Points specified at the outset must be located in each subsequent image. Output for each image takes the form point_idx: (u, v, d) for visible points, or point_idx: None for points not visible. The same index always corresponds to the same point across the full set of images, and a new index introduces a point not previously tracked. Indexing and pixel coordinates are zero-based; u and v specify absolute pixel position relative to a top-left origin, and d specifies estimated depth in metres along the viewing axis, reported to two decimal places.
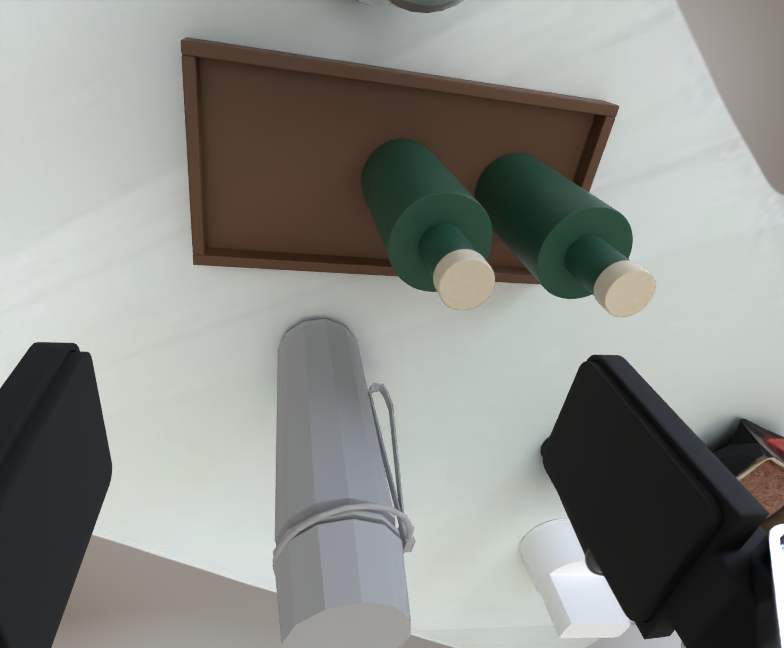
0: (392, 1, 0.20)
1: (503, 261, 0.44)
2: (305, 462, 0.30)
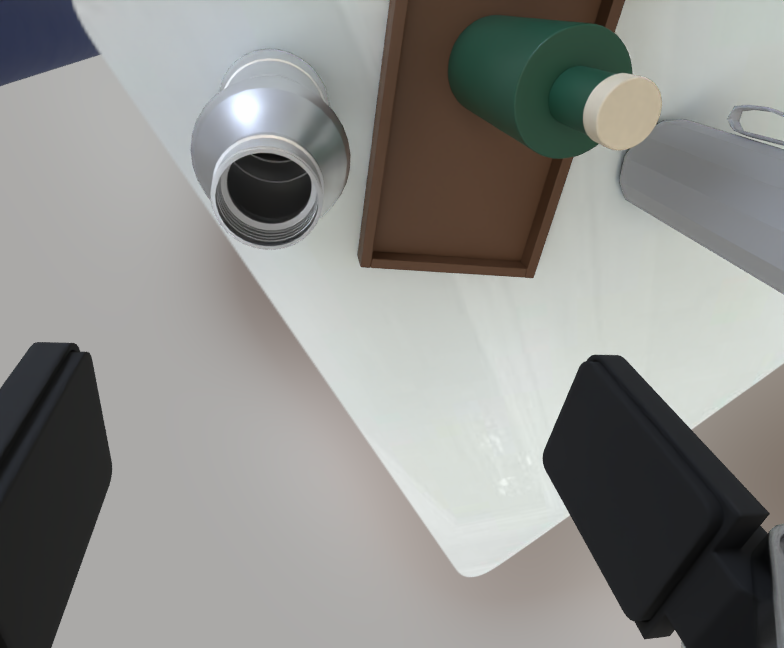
0: (343, 188, 0.23)
1: None
2: (774, 272, 0.28)
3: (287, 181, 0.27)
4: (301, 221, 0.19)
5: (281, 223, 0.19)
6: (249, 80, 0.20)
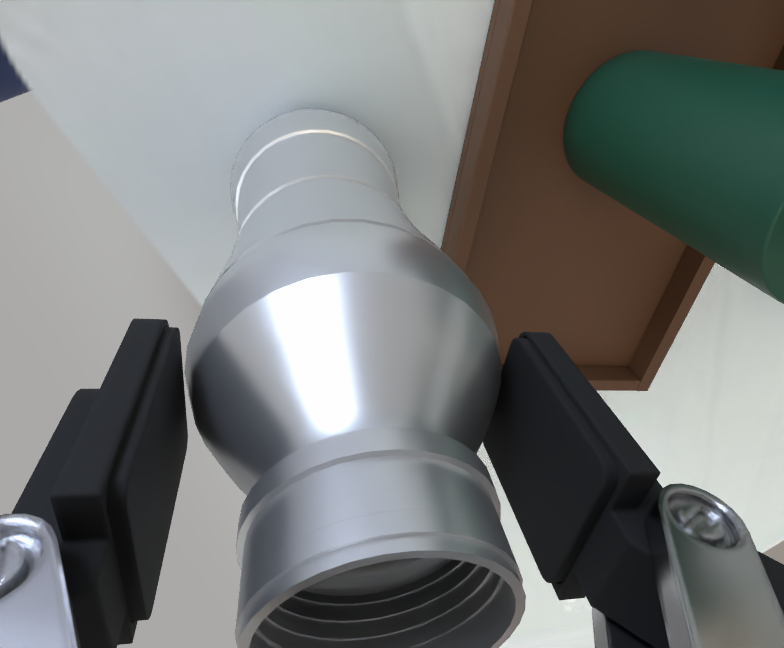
0: None
1: None
2: None
3: None
4: (436, 577, 0.08)
5: (387, 572, 0.09)
6: (313, 245, 0.09)
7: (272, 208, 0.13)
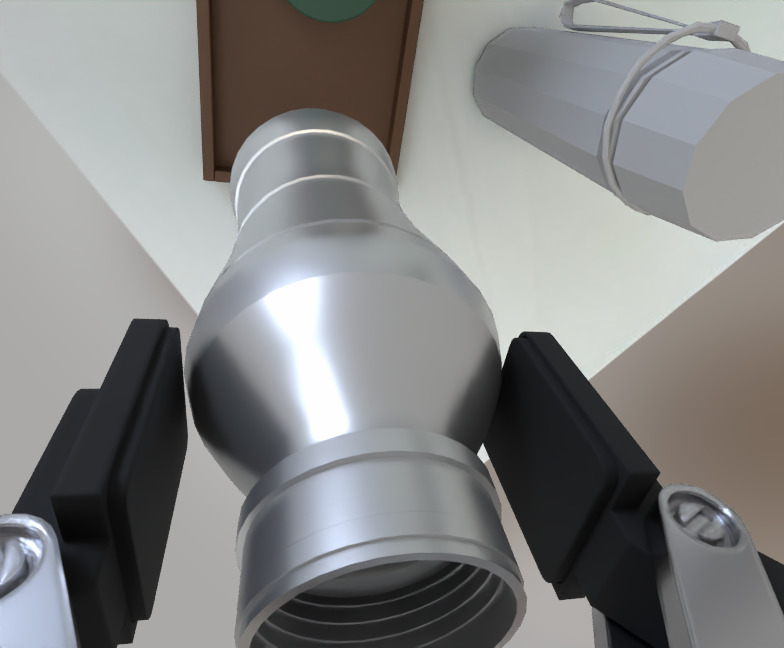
0: None
1: None
2: (567, 149, 0.27)
3: None
4: (436, 579, 0.08)
5: (387, 573, 0.09)
6: (312, 245, 0.09)
7: (272, 208, 0.13)
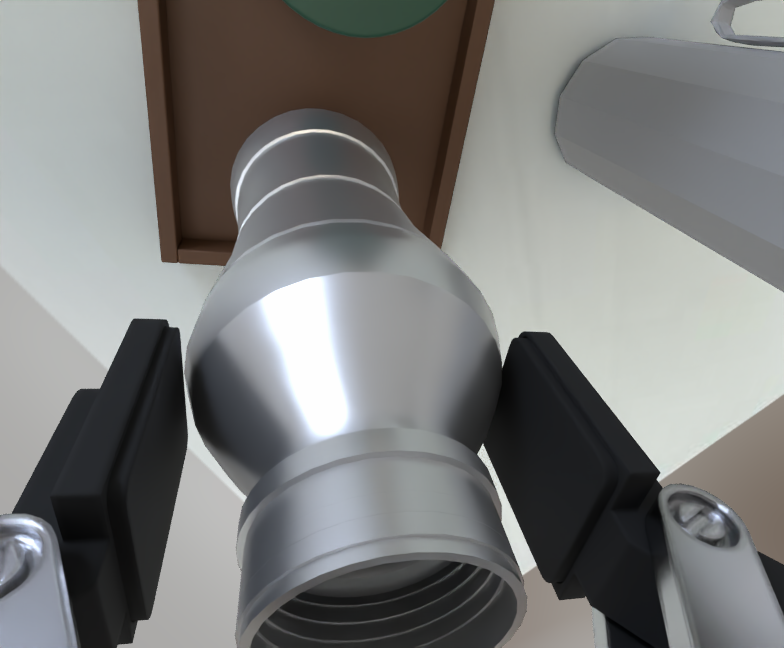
0: None
1: None
2: None
3: None
4: (436, 579, 0.08)
5: (387, 573, 0.09)
6: (313, 245, 0.09)
7: (272, 208, 0.13)
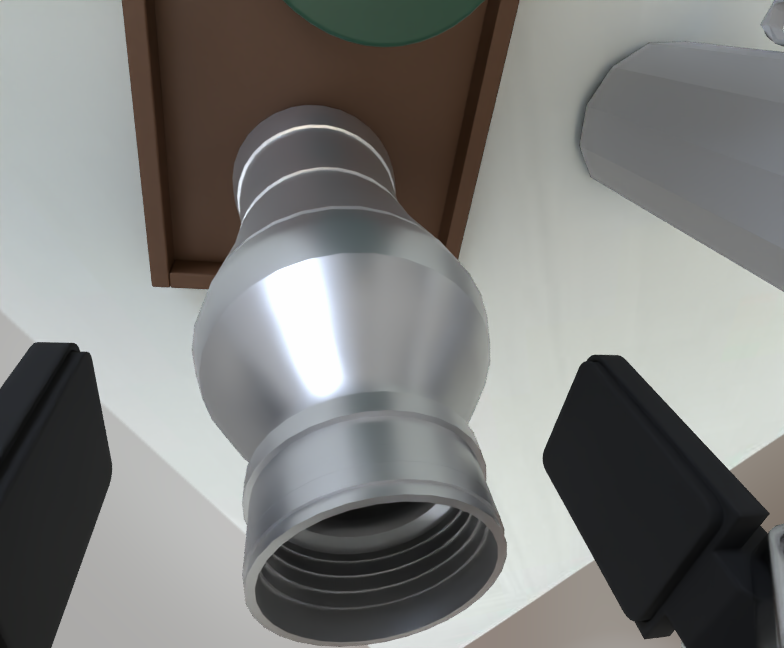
0: None
1: None
2: None
3: None
4: (427, 537, 0.09)
5: (382, 533, 0.09)
6: (312, 229, 0.10)
7: (273, 198, 0.13)
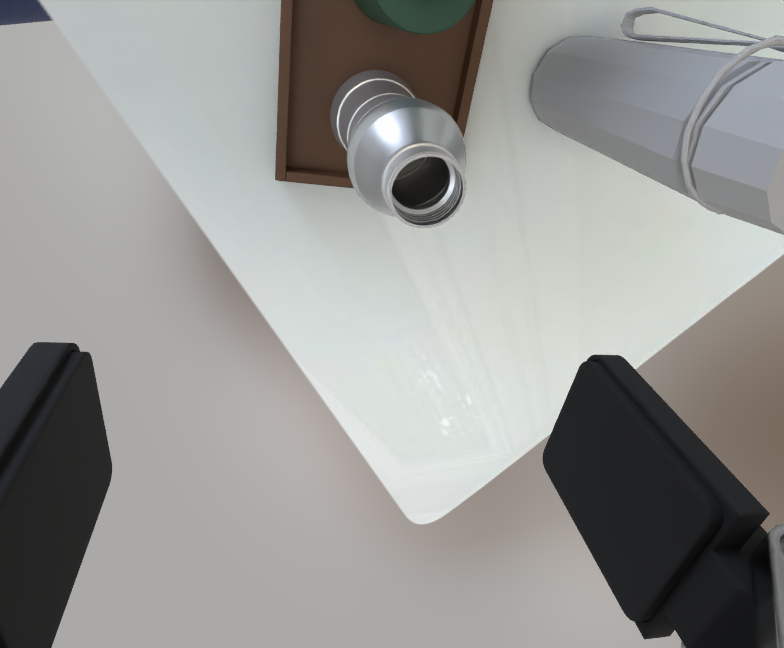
0: None
1: None
2: (639, 152, 0.29)
3: (397, 178, 0.33)
4: (440, 207, 0.25)
5: (424, 209, 0.26)
6: (398, 101, 0.26)
7: (371, 103, 0.30)
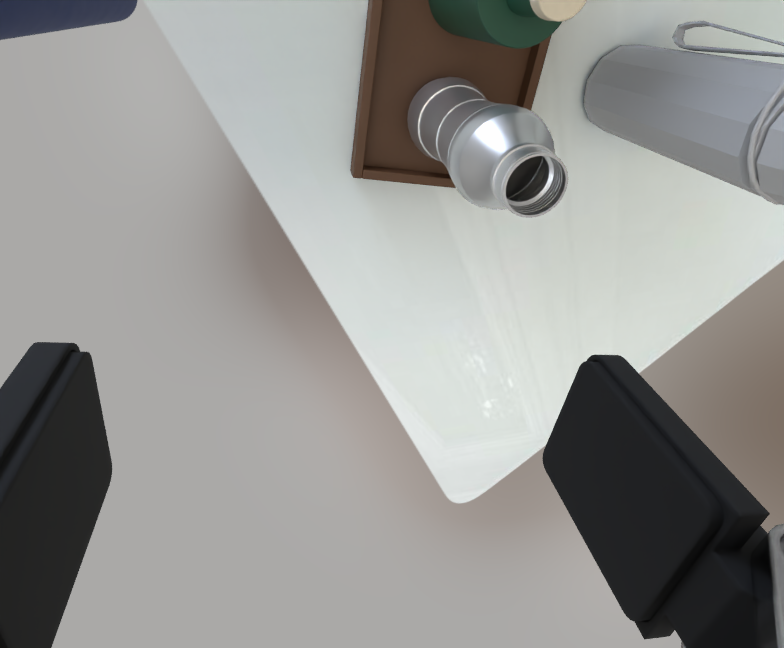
0: None
1: None
2: (701, 151, 0.33)
3: None
4: (539, 200, 0.29)
5: (524, 201, 0.30)
6: (500, 107, 0.30)
7: (464, 108, 0.33)
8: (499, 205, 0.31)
